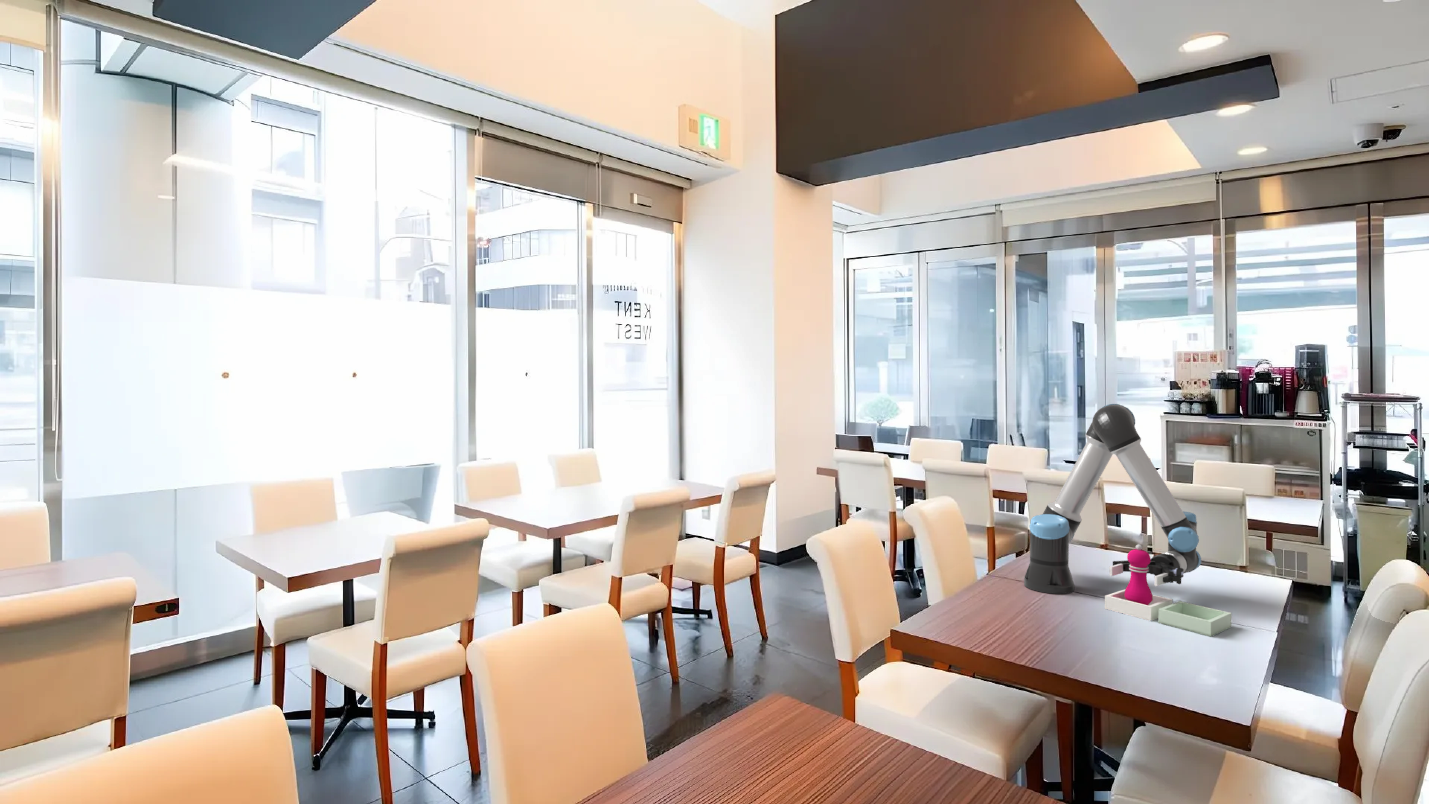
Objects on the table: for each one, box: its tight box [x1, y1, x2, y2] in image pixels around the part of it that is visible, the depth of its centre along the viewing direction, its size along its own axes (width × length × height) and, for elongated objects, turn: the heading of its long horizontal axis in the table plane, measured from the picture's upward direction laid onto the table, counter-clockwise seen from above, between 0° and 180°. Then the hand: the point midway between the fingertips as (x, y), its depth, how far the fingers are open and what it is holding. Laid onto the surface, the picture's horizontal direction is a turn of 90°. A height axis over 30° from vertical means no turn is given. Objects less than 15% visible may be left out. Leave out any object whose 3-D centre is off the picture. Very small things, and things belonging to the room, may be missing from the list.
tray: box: [1157, 600, 1232, 637], centre depth 197 cm, size 13×13×4 cm
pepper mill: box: [1124, 543, 1153, 606], centre depth 210 cm, size 7×7×20 cm
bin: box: [1104, 588, 1173, 622], centre depth 210 cm, size 13×13×4 cm
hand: (1132, 576), depth 208 cm, fingers open, 12 cm apart
